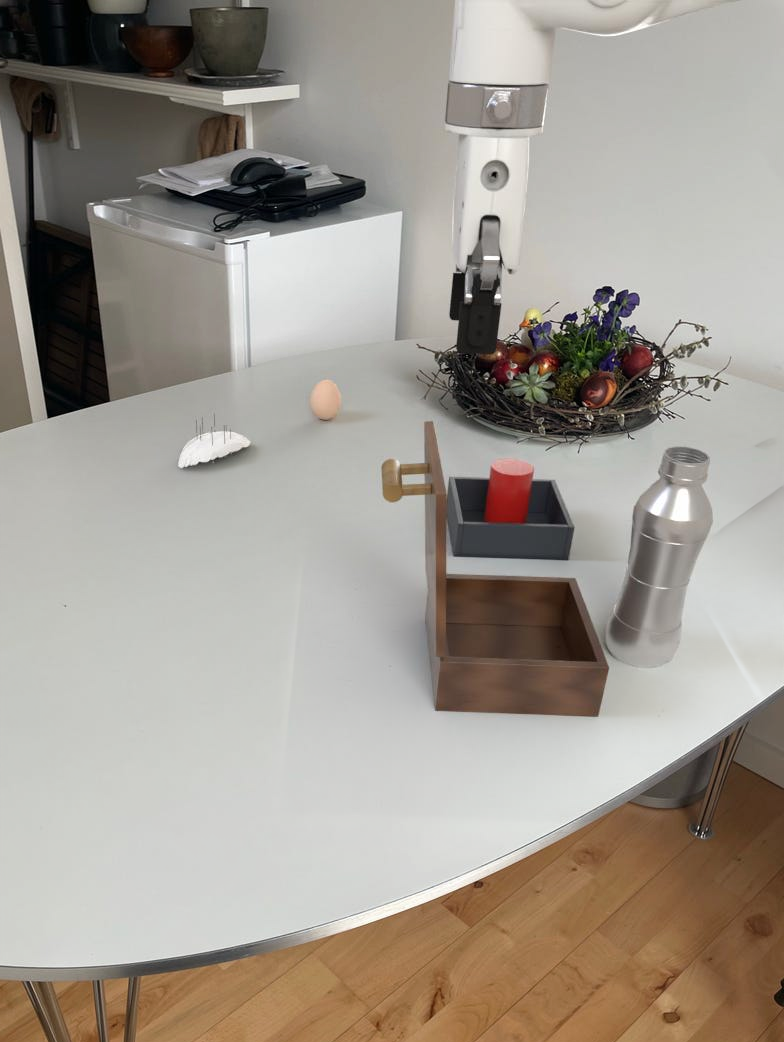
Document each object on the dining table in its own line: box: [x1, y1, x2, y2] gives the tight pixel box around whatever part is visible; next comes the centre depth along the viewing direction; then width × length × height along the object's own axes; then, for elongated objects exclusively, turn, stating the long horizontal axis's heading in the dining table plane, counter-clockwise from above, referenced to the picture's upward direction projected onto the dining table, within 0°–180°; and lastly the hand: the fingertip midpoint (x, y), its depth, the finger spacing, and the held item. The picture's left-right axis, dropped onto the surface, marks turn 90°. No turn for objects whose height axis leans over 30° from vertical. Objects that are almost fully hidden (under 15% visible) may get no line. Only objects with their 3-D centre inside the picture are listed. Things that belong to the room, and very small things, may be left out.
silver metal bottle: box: [604, 445, 714, 669], centre depth 84 cm, size 6×7×20 cm
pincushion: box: [177, 413, 252, 469], centre depth 126 cm, size 12×6×6 cm, turn 135°
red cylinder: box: [484, 458, 535, 524], centre depth 107 cm, size 5×5×8 cm
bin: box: [446, 476, 575, 561], centre depth 108 cm, size 12×12×4 cm
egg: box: [309, 379, 342, 421], centre depth 138 cm, size 4×4×6 cm
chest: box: [424, 573, 610, 718], centre depth 86 cm, size 14×15×6 cm
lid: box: [380, 420, 448, 657], centre depth 81 cm, size 14×15×5 cm
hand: (470, 335), depth 84 cm, fingers open, 9 cm apart
